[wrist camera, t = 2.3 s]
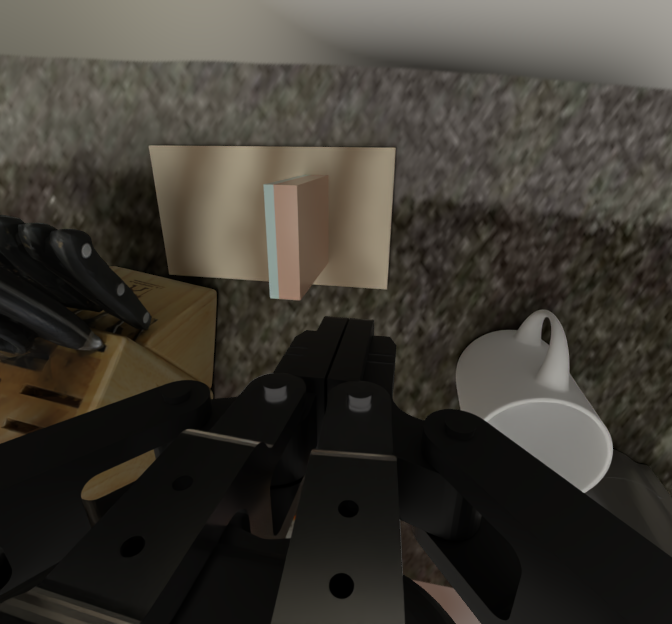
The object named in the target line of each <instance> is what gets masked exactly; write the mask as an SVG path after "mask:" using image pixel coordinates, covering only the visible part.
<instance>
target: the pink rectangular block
mask: <svg viewBox="0 0 672 624" xmlns="http://www.w3.org/2000/svg"><path fill="white" fill-rule="evenodd" d="M263 186H264V202H265V219H266V236H267V253H268V269H269V286H270V298H276V299H289V300H301V299H302V297H303V296H304V295H305V293H306V292H307V291H308V289H309V288H310V287H311V285H312V284H313V283H314V281H315V280H316V279H317V277H318V276H319V275H320V273H321V272H322V271H323V269H324V268H325V267H326V265H327V264H328V248H329V175H300V176H296V177H292V178H288V179H284V180H279V181H275V182H271V183H267V184H263Z"/></svg>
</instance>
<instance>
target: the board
mask: <svg viewBox="0 0 672 624" xmlns="http://www.w3.org/2000/svg"><path fill="white" fill-rule="evenodd" d="M149 151H150V157H151V163H152V169H153V176H154V182H155V188H156V194H157V201H158V207H159V213H160V219H161V226H162V232H163V238H164V244H165V251H166V257H167V263H168V269H169V275H183V276H198V277H213V278H227V279H242V280H257V281H269V269H268V253H267V236H266V219H265V202H264V186H263V184H267V183H271V182H275V181H279V180H284V179H288V178H292V177H296V176H300V175H329V248H328V264H327V265H326V267H325V268H324V269H323V271H322V272H321V273H320V275H319V276H318V277H317V279H316V280H315V281H314V283H313V284H316V285H330V286H345V287H360V288H375V289H387V286H388V270H389V253H390V237H391V221H392V204H393V188H394V172H395V155H396V148H375V147H266V146H156V145H149Z"/></svg>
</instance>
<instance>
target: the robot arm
mask: <svg viewBox="0 0 672 624" xmlns="http://www.w3.org/2000/svg"><path fill="white" fill-rule="evenodd" d="M395 357H396V345H395V343H394V342H393V340H392V339H391V338H390V337H384V336H374V320H369V319H355V318H350V319H349V318H341V317H328V316H325V317H324V318H323V320H322V322H321V324H320V326H319V328H318V330H317V331H310V330H306V331H304V332H303V333H301V334H300V335H298V336H296V337H295V338H294V340H293V342H292V343H291V345H290V347H289V348H288V350H287V351H286V354H285V355H284V356H283V358H282V359H281V361H280V362H279V364H278V366H277V367H276V369H275V370H274V372H273V373H270V374H266V375H262V376H260V377H258V378H256V379H254V380H252V381H251V382H250V383H249V384H248V385H247V386H246V388H245V389H244V390H243V391H242V392H241V393H240V395H239V396H238V397H231V398H220V399H211V395H210V389H209V387H208V386H207V385H206V384H204V383H202V382H199V381H195V380H181V381H175V382H171V383H167V384H164V385H162V386H159V387H156V388H153V389H151V390H148V391H145V392H142V393H139V394H137V395H134V396H131V397H128V398H126V399H123V400H120V401H117V402H115V403H112V404H109V405H106V406H103V407H101V408H98V409H95V410H92V411H90V412H87V413H84V414H81V415H78V416H76V417H73V418H70V419H67V420H65V421H62V422H59V423H56V424H53V425H51V426H48V427H45V428H42V429H40V430H37V431H34V432H31V433H28V434H26V435H23V436H20V437H17V438H15V439H12V440H9V441H6V442H3V443H1V444H0V624H456V623H455V622H454V621H453V619H452V618H451V617H450V616H449V615H448V613H447V612H446V611H445V610H444V609H443V608H442V607H441V605H440V604H439V603H438V602H437V601H436V600H435V599H434V598H433V597H432V596H431V595H430V594H428V593H427V592H426V591H425V590H424V589H423V588H422V587H420V586H419V585H418V584H416V583H415V582H414V581H413V580H411V579H410V578H408V577H406V576H405V575H403V573H402V553H401V533H400V520H402V521H405V522H407V523H409V524H411V525H413V532H414V536H415V538H416V540H417V541H418V543H419V544H420V546H421V547H422V548H423V549H424V551H425V552H426V553H427V555H428V556H429V557H430V558H431V560H432V561H433V562H434V564H435V565H436V566H437V567H438V569H439V570H440V571H441V572H442V574H443V575H444V576H445V578H446V579H447V580H448V581H449V583H450V584H451V585H452V587H453V588H454V589H455V590H456V592H457V593H458V594H459V596H460V597H461V598H462V599H463V601H464V602H465V603H466V604H467V606H468V607H469V608H470V610H471V611H472V612H473V613H474V615H475V616H476V617H477V619H478V620H479V621H480V623H481V624H672V497H671V496H670V494H669V493H668V492H667V490H666V489H665V488H664V486H663V485H662V483H661V482H660V481H659V479H658V478H657V477H656V475H655V474H654V472H653V471H652V470H651V468H650V467H649V466H648V465H642V464H638V463H636V462H634V461H633V460H631V459H630V458H629V457H628V456H627V455H625V454H623V453H621V452H619V451H617V450H615V449H613V456H612V461H611V464H610V466H609V469H608V471H607V472H606V474H605V475H604V477H603V478H602V479H601V480H600V481H599V482H598V483H597V484H596V485H595V486H594V487H593V488H591V489H590V490H588V491H587V492H585V493H583V492H582V491H581V490H579V489H578V488H577V487H575V486H574V485H572V484H571V483H570V482H568V481H567V480H566V479H564V478H563V477H562V476H560V475H559V474H557V473H556V472H555V471H553V470H552V469H551V468H549V467H548V466H546V465H545V464H544V463H542V462H541V461H540V460H538V459H537V458H536V457H534V456H533V455H531V454H530V453H529V452H527V451H526V450H525V449H523V448H522V447H520V446H519V445H518V444H516V443H515V442H514V441H512V440H511V439H510V438H508V437H507V436H505V435H504V434H503V433H501V432H500V431H499V430H497V429H496V428H494V427H493V426H492V425H490V424H489V423H488V422H486V421H485V420H483V419H482V418H480V417H478V416H476V415H474V414H472V413H469V412H466V411H462V410H455V409H445V410H439V411H436V412H433V413H431V414H430V415H429V416H428V417H427V418H426V419H425V421H424V420H421V419H418V418H415V417H412V416H410V415H408V414H406V413H405V412H403V411H402V410H401V409H399V408H398V407H397V406H396V404H395V403H394V401H393V385H394V371H395ZM153 449H154V454H155V458H156V460H155V461H154V462H153V463H152V464H151V465H150V466H149V467H148V468H147V469H146V470H145V472H144V473H143V474H142V475H141V476H140V477H139V478H138V479H137V480H136V481H134V482H132V483H130V484H128V485H125V486H123V487H121V488H119V489H117V490H115V491H113V492H111V493H109V494H107V495H105V496H103V497H101V498H98V499H95V500H84V499H82V498H81V493H82V490H83V488H84V486H85V485H86V483H87V482H88V481H89V480H90V479H92V478H93V477H94V476H96V475H98V474H100V473H102V472H104V471H107V470H109V469H111V468H113V467H116V466H118V465H120V464H122V463H124V462H127V461H129V460H131V459H133V458H135V457H138V456H140V455H142V454H144V453H146V452H149V451H151V450H153ZM296 511H297V513H296ZM295 514H296V517H295V522H294V526H293V530H292V535H291V538H286V535H287V533H288V531H289V528H290V526H291V523H292V521H293V519H294V516H295Z"/></svg>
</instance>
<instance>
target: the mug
mask: <svg viewBox="0 0 672 624" xmlns="http://www.w3.org/2000/svg"><path fill="white" fill-rule="evenodd" d="M545 317H548V318H549V319H550V322H551V340H550V345H548V344H547V343H546V342H544V341H543V340H542V339H541V330H542V324H543V321H544V319H545ZM456 386H457V392H458V398H459V404H460V410H462V411H466V412H469V413H472V414H474V415H476V416H478V417H480V418H482V419H483V420H485V421H486V422H488V423H489V424H490V425H492V426H493V427H494V428H496V429H497V430H499V431H500V432H501V433H503V434H504V435H505V436H507V437H508V438H510V439H511V440H512V441H514V442H515V443H516V444H518V445H519V446H520V447H522V448H523V449H525V450H526V451H527V452H529V453H530V454H531V455H533V456H534V457H536V458H537V459H538V460H540V461H541V462H542V463H544V464H545V465H546V466H548V467H549V468H551V469H552V470H553V471H555V472H556V473H557V474H559V475H560V476H562V477H563V478H564V479H566V480H567V481H568V482H570V483H571V484H572V485H574V486H575V487H577V488H578V489H579V490H581V491H582V492H583V493H585V492H587V491H588V490H590V489H591V488H593V487H594V486H595V485H596V484H597V483H598V482H599V481H600V480H601V479H602V478H603V477H604V475H605V474H606V472H607V471H608V469H609V466H610V464H611V461H612V456H613V444H612V439H611V436H610V433H609V431H608V430H607V428H606V426H605V425H604V423H603V422H602V420H601V419H600V417H599V416H598V414H597V413H596V411H595V410H594V408H593V407H592V405H591V404H590V403H589V401H588V400H587V398H586V397H585V395H584V394H583V392H582V391H581V389H580V388H579V386H578V385H577V383H576V382H575V380H574V379H573V378H572V376H571V375H570V373H569V351H568V344H567V339H566V335H565V332H564V330H563V327H562V325H561V323H560V321H559V320H558V319H557V317H556V316H555V315H554V314H553V313H552V312H550V311H548V310H538V311H535V312H534V313H532V314H531V315H530V316H529V317H528V318H527V319H526V320H525V321H524V322H523V323H522V325H521V326H520V328H519V329H518V330H500V331H494V332H491V333H488V334H485V335H483V336H481V337H479V338H478V339H476V340H474V341H473V342H472V343H471V344H470V345H469V346H468V347H467V348H466V349H465V350H464V351H463V353H462V354H461V356H460V358H459V360H458V363H457V368H456Z"/></svg>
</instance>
